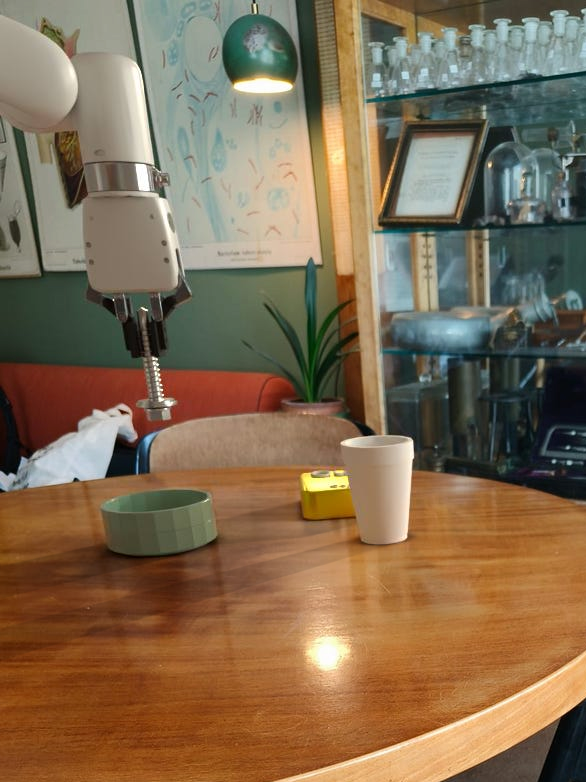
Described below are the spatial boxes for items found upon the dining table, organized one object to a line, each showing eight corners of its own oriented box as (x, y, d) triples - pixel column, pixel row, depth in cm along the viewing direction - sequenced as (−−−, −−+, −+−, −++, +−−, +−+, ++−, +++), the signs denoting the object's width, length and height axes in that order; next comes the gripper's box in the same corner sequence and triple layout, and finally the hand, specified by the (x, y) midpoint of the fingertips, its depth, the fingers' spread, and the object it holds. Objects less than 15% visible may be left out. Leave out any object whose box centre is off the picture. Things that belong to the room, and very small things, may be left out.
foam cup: (360, 551, 114) (351, 450, 109) (340, 534, 122) (331, 439, 117) (428, 541, 118) (423, 442, 113) (405, 525, 125) (399, 433, 121)
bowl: (95, 561, 114) (86, 515, 111) (124, 533, 127) (116, 491, 124) (207, 554, 115) (200, 509, 113) (225, 527, 128) (219, 486, 126)
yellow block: (303, 521, 130) (299, 489, 128) (301, 499, 143) (297, 470, 141) (404, 513, 132) (402, 481, 130) (393, 492, 146) (391, 463, 144)
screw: (129, 422, 107) (157, 416, 111) (161, 423, 106) (188, 417, 110) (110, 308, 102) (140, 306, 107) (142, 307, 101) (171, 306, 105)
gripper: (201, 187, 103) (222, 353, 110) (61, 190, 102) (91, 357, 109) (186, 180, 96) (210, 357, 103) (36, 182, 95) (70, 361, 102)
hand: (148, 355), depth 106 cm, fingers closed on screw, 2 cm apart
